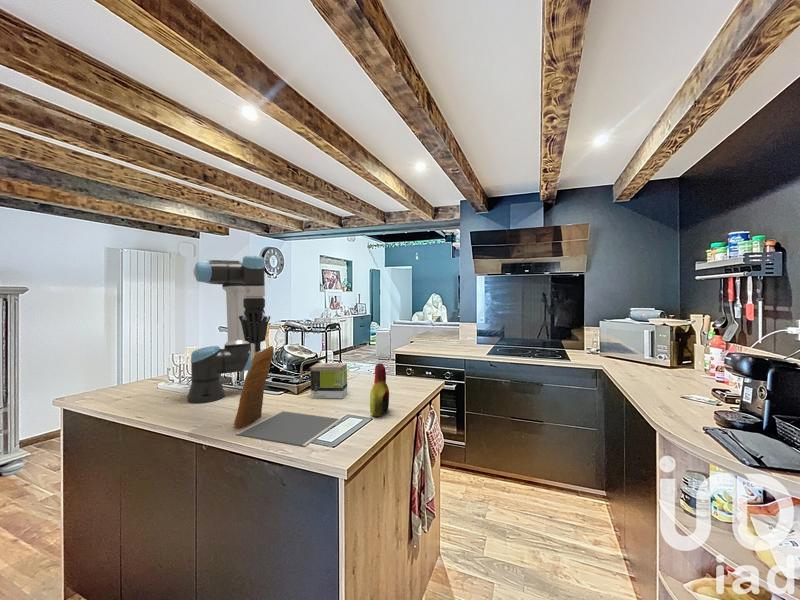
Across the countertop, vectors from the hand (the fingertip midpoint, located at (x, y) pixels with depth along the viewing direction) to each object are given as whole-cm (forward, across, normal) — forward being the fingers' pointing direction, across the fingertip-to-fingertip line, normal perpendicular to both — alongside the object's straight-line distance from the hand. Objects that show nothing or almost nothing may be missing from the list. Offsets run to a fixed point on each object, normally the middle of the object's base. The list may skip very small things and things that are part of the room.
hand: (255, 360), depth 131 cm
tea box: (+24, +9, +38) cm, 46 cm away
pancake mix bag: (+24, -3, 0) cm, 24 cm away
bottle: (+24, +41, +24) cm, 53 cm away
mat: (+24, +16, 0) cm, 28 cm away
